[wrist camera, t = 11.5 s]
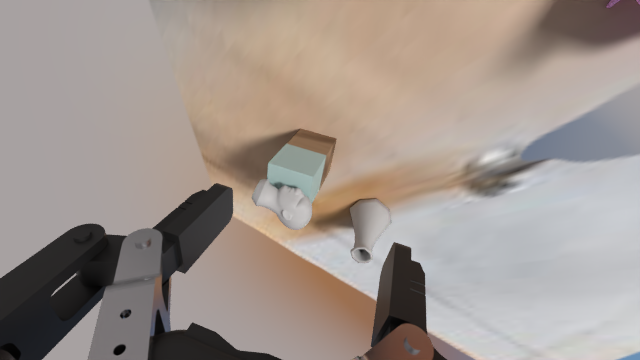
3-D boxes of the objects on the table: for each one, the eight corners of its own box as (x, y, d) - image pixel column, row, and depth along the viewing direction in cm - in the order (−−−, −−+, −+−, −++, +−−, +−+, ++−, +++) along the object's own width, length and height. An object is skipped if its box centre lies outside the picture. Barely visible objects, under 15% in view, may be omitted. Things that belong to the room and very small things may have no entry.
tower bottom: (300, 128, 45) (286, 143, 40) (336, 138, 44) (326, 155, 39) (296, 160, 48) (282, 178, 43) (329, 170, 47) (319, 189, 42)
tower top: (286, 143, 40) (268, 162, 35) (326, 155, 39) (313, 177, 34) (282, 177, 43) (265, 199, 38) (319, 189, 42) (306, 213, 38)
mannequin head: (323, 199, 37) (300, 225, 39) (274, 161, 36) (252, 190, 37) (321, 213, 33) (295, 242, 34) (266, 171, 32) (241, 203, 33)
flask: (342, 205, 50) (328, 243, 42) (379, 191, 47) (371, 231, 39) (362, 234, 52) (352, 276, 44) (398, 224, 49) (395, 267, 41)
